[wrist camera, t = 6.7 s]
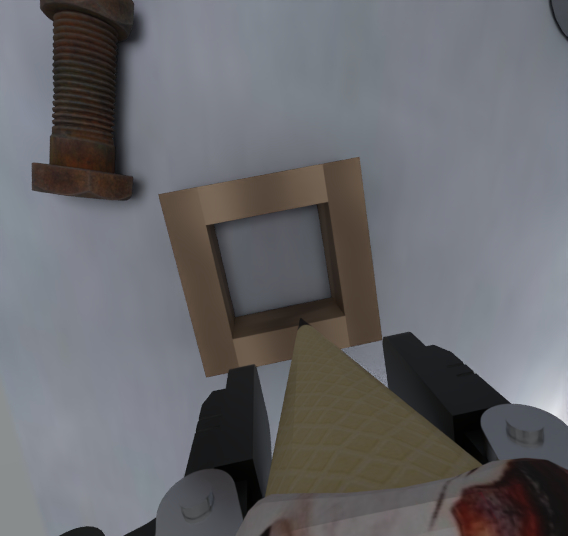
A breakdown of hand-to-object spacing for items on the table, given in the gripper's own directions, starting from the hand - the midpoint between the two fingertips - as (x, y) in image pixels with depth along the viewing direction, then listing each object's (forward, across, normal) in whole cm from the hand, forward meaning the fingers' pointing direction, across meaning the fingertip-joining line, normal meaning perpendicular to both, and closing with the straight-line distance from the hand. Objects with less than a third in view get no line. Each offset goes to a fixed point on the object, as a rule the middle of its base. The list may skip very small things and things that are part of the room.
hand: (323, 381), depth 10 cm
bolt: (+17, +9, -14) cm, 24 cm away
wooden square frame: (+17, +1, 0) cm, 17 cm away
